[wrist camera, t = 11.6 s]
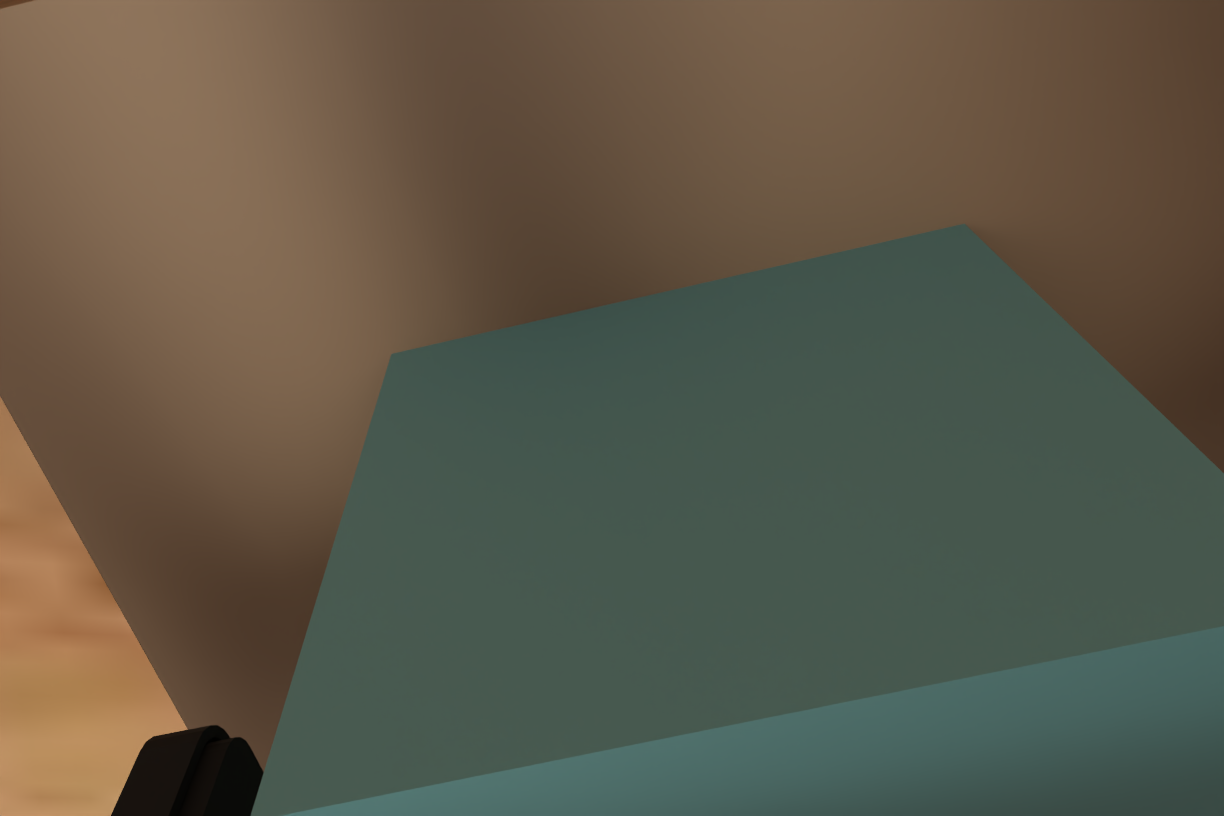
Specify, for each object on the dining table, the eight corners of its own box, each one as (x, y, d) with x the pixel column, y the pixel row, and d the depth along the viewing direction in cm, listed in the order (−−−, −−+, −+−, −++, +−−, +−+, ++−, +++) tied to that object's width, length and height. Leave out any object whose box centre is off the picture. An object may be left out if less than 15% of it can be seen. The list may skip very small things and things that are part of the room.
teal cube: (964, 223, 11) (1354, 599, 6) (995, 664, 14) (1272, 1190, 8) (391, 354, 11) (247, 823, 6) (536, 756, 14) (527, 1316, 9)
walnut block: (1127, -287, 13) (1417, -344, 9) (1118, 598, 20) (1280, 819, 15) (42, -16, 14) (-191, 55, 10) (383, 745, 21) (338, 995, 16)
